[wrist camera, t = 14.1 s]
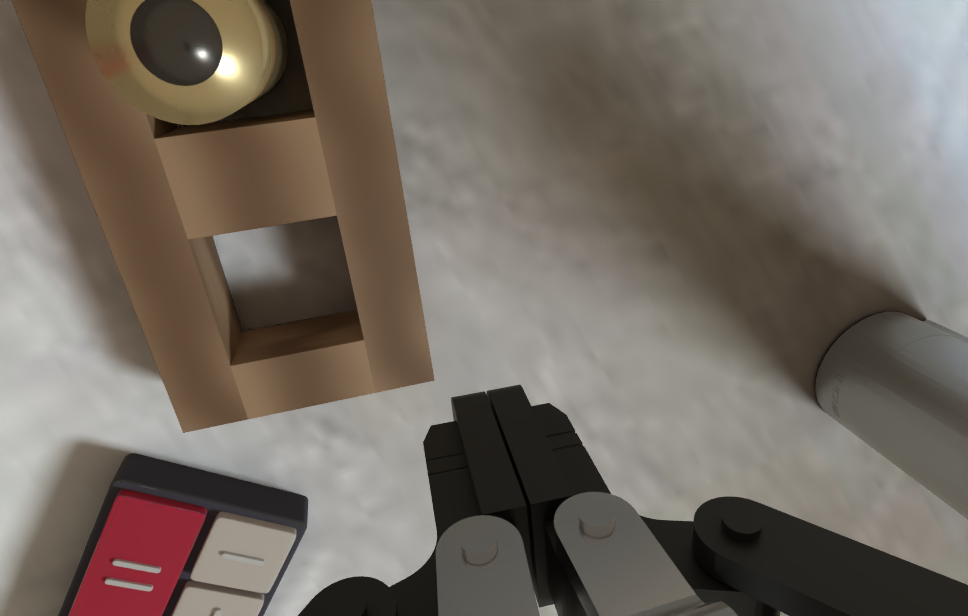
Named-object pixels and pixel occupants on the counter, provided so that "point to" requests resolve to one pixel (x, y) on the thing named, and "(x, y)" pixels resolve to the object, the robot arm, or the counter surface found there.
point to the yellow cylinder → (187, 54)
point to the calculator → (185, 544)
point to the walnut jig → (248, 218)
